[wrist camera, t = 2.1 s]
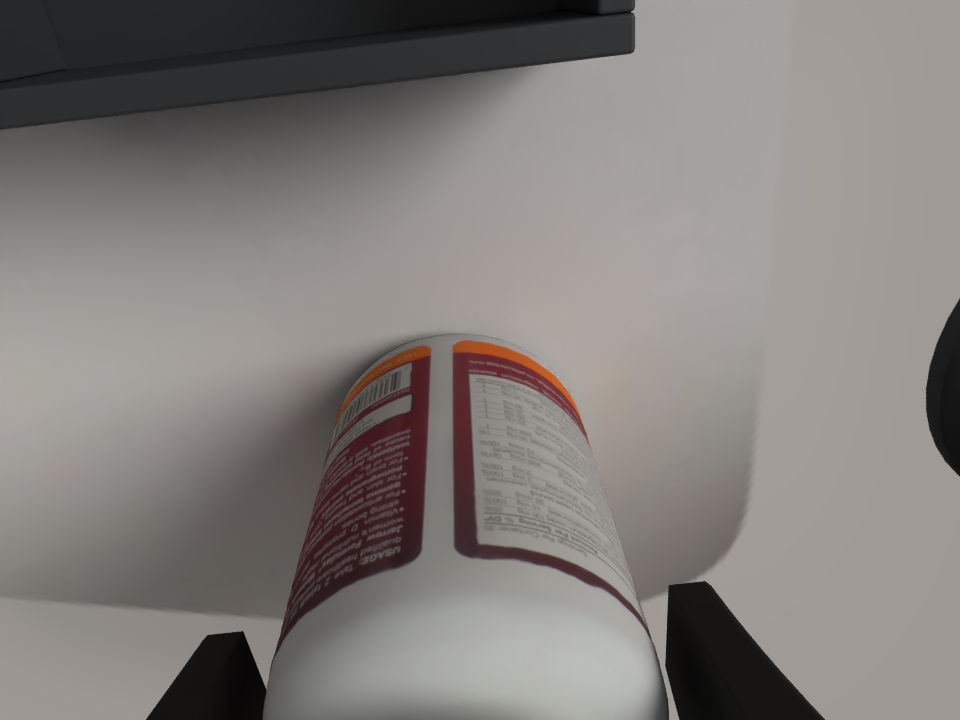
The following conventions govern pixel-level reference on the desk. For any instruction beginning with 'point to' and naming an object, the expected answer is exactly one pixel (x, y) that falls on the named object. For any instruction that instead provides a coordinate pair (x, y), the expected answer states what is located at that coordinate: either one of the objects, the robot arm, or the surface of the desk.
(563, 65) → the desk surface
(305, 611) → the pill bottle
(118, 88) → the waste bin
